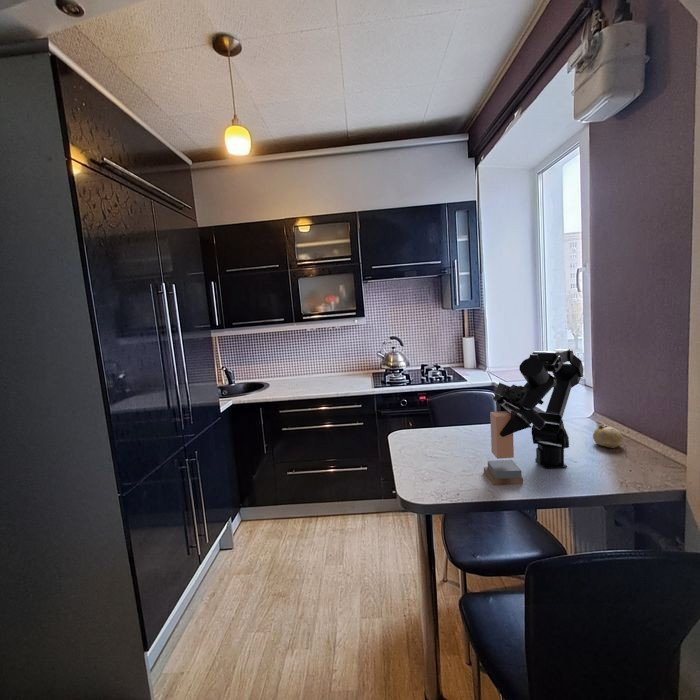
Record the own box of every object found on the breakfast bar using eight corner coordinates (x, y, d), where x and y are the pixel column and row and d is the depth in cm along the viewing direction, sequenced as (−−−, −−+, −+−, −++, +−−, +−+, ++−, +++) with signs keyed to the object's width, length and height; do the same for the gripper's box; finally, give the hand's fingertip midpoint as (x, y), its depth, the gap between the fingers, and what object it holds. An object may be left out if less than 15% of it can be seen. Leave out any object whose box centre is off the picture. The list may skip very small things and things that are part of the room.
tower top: (512, 467, 108) (512, 459, 108) (521, 478, 101) (521, 470, 101) (487, 467, 108) (487, 460, 108) (495, 479, 101) (495, 471, 101)
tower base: (511, 472, 109) (511, 465, 109) (523, 485, 101) (522, 478, 101) (483, 474, 109) (483, 467, 109) (493, 487, 101) (493, 479, 101)
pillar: (507, 451, 106) (506, 410, 105) (513, 457, 102) (512, 415, 100) (491, 452, 106) (490, 412, 105) (497, 458, 102) (496, 416, 101)
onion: (613, 440, 125) (613, 420, 124) (628, 450, 117) (628, 428, 116) (588, 441, 126) (588, 421, 125) (601, 450, 118) (601, 429, 117)
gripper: (498, 367, 111) (463, 406, 112) (532, 379, 92) (491, 425, 93) (524, 390, 112) (490, 428, 113) (563, 406, 94) (521, 452, 94)
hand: (496, 432), depth 103 cm, fingers closed on pillar, 5 cm apart
